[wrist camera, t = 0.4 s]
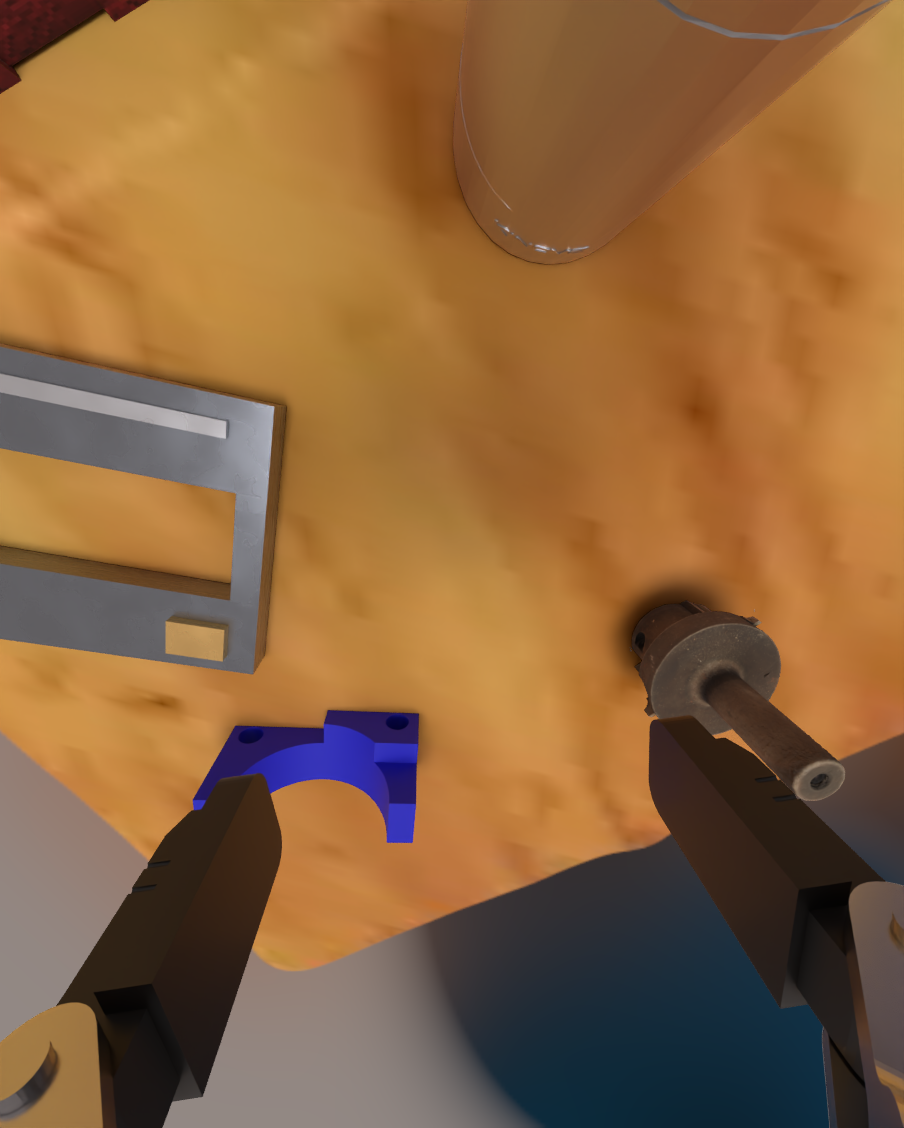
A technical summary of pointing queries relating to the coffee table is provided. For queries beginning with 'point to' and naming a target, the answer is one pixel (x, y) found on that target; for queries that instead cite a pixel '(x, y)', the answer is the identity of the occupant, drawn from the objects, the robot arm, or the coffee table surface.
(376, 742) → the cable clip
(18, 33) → the decorative book
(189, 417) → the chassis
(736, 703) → the industrial component
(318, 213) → the coffee table surface
